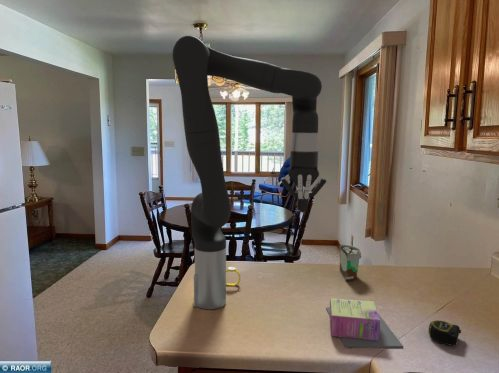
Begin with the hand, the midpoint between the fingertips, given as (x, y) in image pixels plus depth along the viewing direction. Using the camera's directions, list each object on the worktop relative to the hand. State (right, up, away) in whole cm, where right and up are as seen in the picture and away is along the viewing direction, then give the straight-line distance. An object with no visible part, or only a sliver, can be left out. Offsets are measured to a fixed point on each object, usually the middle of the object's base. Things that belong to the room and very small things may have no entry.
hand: (302, 211), depth 105 cm
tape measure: (+35, -32, -11) cm, 48 cm away
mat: (+15, -30, -5) cm, 34 cm away
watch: (-21, -26, +20) cm, 39 cm away
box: (+6, -27, -7) cm, 29 cm away
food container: (+22, -26, +30) cm, 45 cm away
